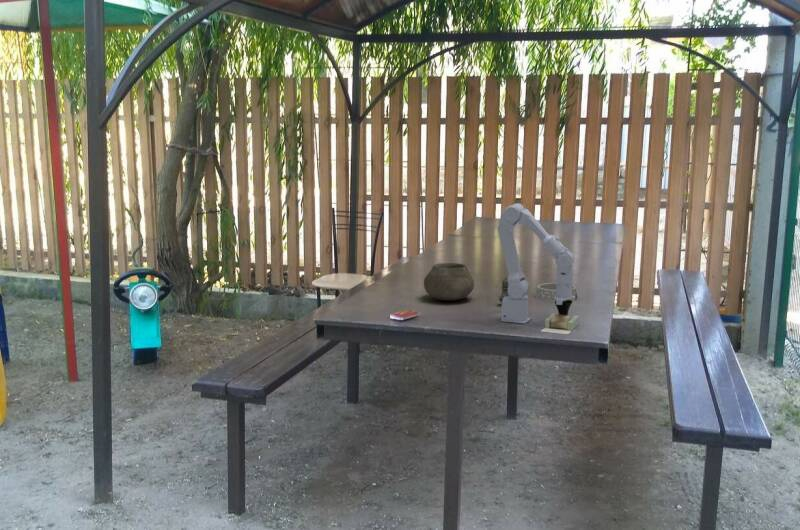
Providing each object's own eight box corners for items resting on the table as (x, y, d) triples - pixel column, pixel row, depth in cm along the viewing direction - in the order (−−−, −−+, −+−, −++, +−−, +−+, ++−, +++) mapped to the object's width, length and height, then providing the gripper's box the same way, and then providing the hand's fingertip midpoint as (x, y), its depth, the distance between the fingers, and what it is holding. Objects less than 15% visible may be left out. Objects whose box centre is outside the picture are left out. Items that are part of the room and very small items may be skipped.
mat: (540, 331, 278) (540, 331, 278) (544, 328, 282) (544, 327, 282) (568, 334, 274) (568, 334, 274) (571, 331, 278) (571, 330, 278)
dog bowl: (533, 301, 325) (533, 289, 325) (538, 292, 343) (538, 281, 342) (574, 304, 321) (575, 291, 320) (578, 295, 338) (578, 283, 337)
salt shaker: (510, 307, 314) (511, 278, 312) (496, 306, 316) (497, 277, 314) (514, 304, 320) (514, 275, 317) (500, 303, 322) (500, 274, 320)
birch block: (550, 327, 283) (551, 316, 282) (554, 324, 287) (554, 313, 286) (567, 328, 280) (567, 318, 280) (570, 326, 284) (570, 315, 284)
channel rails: (544, 327, 283) (545, 319, 282) (552, 321, 293) (552, 313, 292) (571, 330, 279) (571, 322, 278) (578, 323, 288) (578, 315, 288)
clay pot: (415, 297, 334) (415, 262, 331) (458, 292, 343) (458, 259, 340) (438, 307, 315) (438, 271, 312) (483, 302, 323) (484, 267, 321)
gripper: (570, 288, 276) (569, 325, 278) (579, 281, 289) (578, 316, 291) (551, 286, 279) (549, 323, 281) (560, 279, 292) (559, 314, 294)
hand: (563, 319), depth 287 cm, fingers closed
